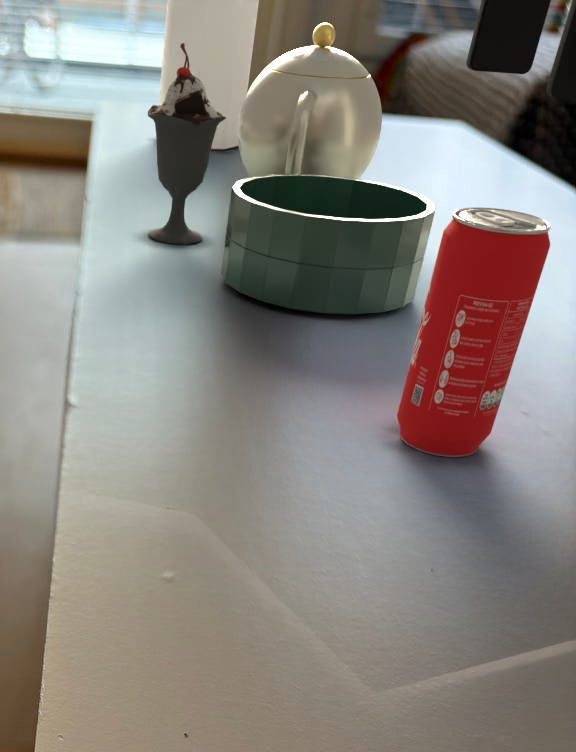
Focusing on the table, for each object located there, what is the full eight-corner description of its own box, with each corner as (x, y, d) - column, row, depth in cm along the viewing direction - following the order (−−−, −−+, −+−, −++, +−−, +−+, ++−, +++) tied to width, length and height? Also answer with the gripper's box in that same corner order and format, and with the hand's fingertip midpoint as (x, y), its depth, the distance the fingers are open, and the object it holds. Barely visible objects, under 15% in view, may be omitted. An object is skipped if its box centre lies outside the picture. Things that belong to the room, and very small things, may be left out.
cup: (206, 133, 134) (223, -30, 123) (257, 148, 126) (281, -24, 115) (139, 136, 129) (151, -33, 118) (188, 153, 121) (206, -26, 110)
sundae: (162, 223, 92) (178, 39, 83) (224, 237, 89) (247, 47, 81) (124, 236, 88) (136, 43, 79) (187, 251, 85) (208, 52, 76)
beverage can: (432, 465, 53) (497, 235, 46) (374, 427, 57) (427, 208, 50) (505, 453, 55) (579, 229, 48) (444, 416, 59) (505, 204, 51)
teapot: (240, 190, 106) (264, 11, 96) (367, 205, 103) (404, 23, 93) (209, 228, 92) (233, 24, 82) (354, 247, 89) (397, 38, 79)
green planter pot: (382, 265, 85) (401, 178, 80) (437, 324, 73) (464, 225, 68) (209, 258, 84) (220, 169, 80) (236, 316, 72) (250, 215, 67)
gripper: (977, -541, 28) (716, 120, 38) (670, -387, 42) (538, 68, 52) (730, -571, 28) (532, 107, 38) (503, -405, 42) (402, 58, 52)
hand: (536, 84), depth 45 cm, fingers open, 9 cm apart
